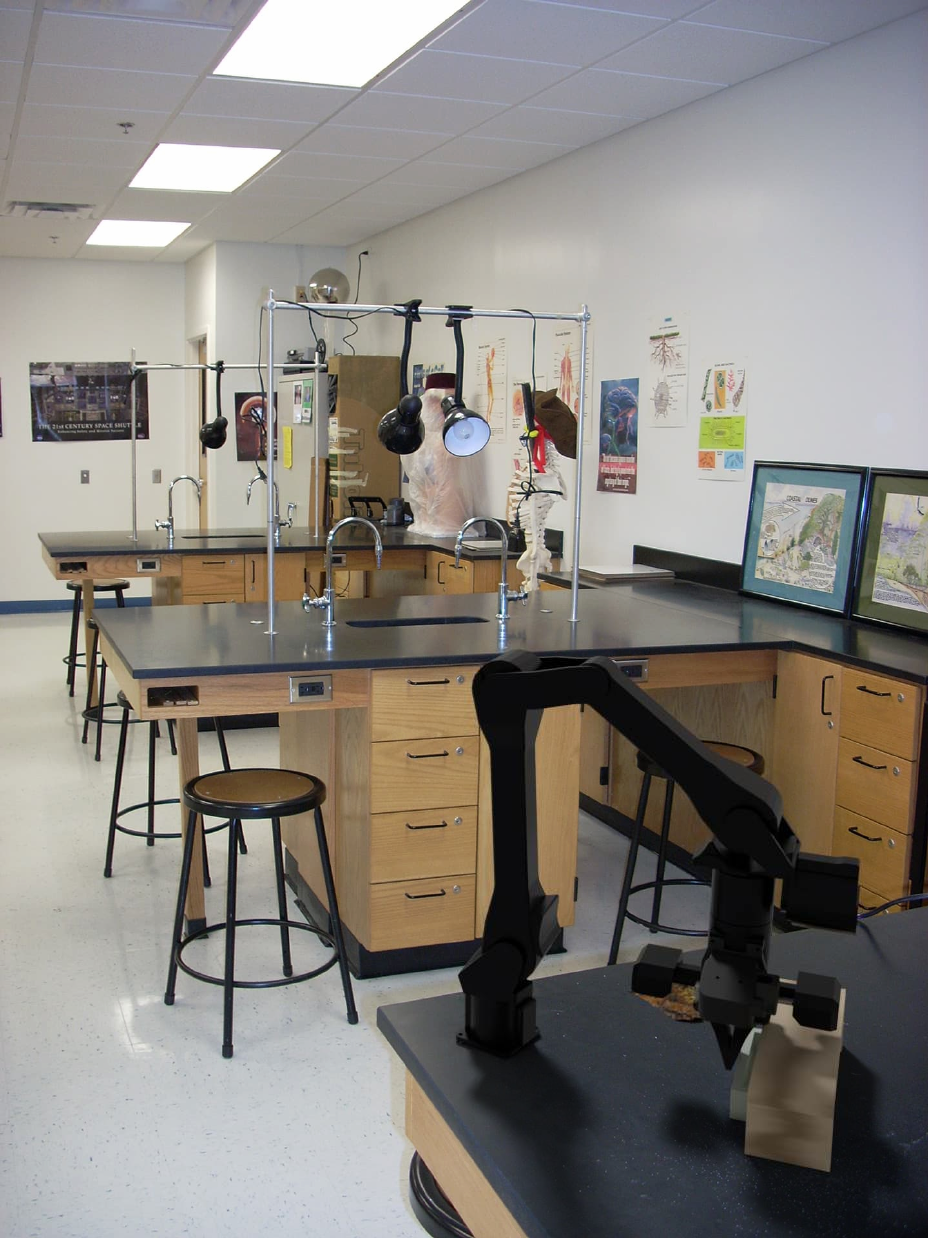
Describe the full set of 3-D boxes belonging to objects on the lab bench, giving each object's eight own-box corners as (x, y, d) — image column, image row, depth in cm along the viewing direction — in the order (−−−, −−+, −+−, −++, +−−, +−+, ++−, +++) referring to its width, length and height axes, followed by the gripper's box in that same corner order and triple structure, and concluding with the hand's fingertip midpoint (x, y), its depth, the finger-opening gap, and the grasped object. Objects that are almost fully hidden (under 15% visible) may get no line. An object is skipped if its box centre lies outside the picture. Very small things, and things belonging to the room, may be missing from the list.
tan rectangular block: (744, 1154, 101) (747, 1089, 100) (771, 1032, 122) (774, 977, 121) (829, 1172, 99) (833, 1106, 98) (842, 1044, 119) (845, 989, 118)
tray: (729, 1118, 107) (730, 1089, 106) (745, 1052, 118) (747, 1026, 117) (798, 1132, 104) (799, 1103, 104) (808, 1064, 116) (809, 1037, 115)
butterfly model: (622, 998, 130) (623, 972, 129) (713, 977, 135) (714, 952, 135) (668, 1034, 122) (669, 1007, 122) (763, 1011, 127) (764, 984, 127)
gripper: (623, 930, 105) (613, 1091, 108) (841, 970, 99) (826, 1139, 102) (648, 885, 115) (638, 1033, 118) (847, 919, 109) (833, 1074, 112)
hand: (729, 1069), depth 112 cm, fingers closed
